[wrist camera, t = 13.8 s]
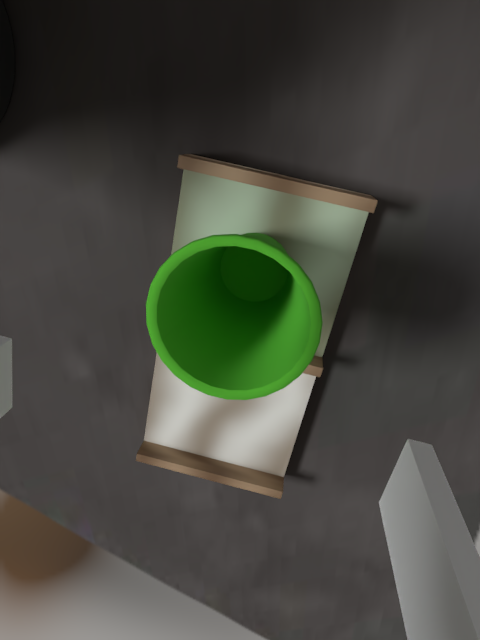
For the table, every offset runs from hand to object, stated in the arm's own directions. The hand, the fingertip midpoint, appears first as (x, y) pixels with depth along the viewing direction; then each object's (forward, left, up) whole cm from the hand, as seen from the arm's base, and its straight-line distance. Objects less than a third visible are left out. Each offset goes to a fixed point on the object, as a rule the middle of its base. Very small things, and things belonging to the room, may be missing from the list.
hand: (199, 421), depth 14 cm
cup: (0, 0, -20) cm, 20 cm away
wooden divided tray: (0, -6, -20) cm, 21 cm away
